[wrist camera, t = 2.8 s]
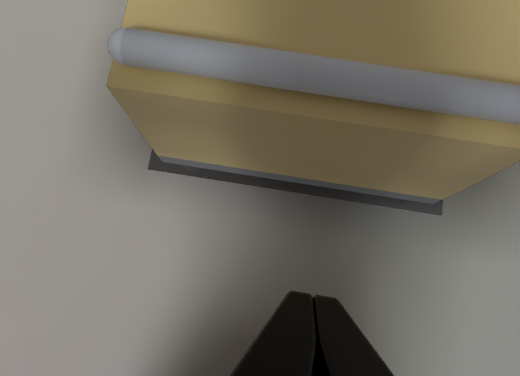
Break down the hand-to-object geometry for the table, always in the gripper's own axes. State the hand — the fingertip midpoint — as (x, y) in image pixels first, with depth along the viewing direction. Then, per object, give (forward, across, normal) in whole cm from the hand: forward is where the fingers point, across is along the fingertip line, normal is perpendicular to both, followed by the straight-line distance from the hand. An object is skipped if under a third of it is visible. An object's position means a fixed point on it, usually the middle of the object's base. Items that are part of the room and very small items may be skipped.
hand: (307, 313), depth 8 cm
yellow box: (+16, 0, 0) cm, 16 cm away
